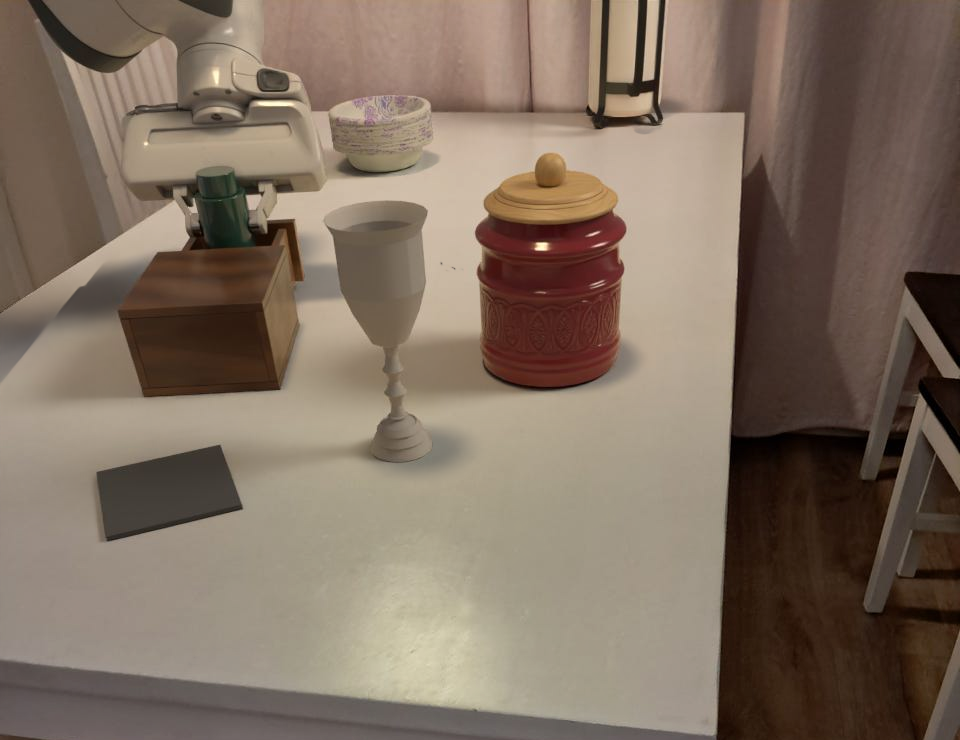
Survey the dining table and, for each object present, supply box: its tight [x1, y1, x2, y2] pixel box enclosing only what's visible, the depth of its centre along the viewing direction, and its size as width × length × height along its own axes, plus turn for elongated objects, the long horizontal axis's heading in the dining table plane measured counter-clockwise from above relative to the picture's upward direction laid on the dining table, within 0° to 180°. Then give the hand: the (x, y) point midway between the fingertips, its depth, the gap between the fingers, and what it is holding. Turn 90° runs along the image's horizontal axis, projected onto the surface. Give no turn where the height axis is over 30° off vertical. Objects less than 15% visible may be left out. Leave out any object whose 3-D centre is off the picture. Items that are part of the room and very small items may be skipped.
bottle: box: [193, 166, 257, 249], centre depth 93 cm, size 5×5×12 cm
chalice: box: [322, 200, 433, 463], centre depth 70 cm, size 7×7×18 cm
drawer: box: [180, 218, 306, 290], centre depth 98 cm, size 17×11×6 cm, turn 1°
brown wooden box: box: [116, 245, 300, 397], centre depth 87 cm, size 15×13×8 cm
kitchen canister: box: [474, 152, 628, 388], centre depth 81 cm, size 13×13×18 cm
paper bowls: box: [327, 94, 434, 173], centre depth 138 cm, size 15×15×8 cm
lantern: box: [585, 0, 670, 129], centre depth 144 cm, size 17×16×30 cm
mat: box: [95, 444, 243, 542], centre depth 72 cm, size 10×10×1 cm
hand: (227, 233), depth 93 cm, fingers closed on bottle, 5 cm apart
